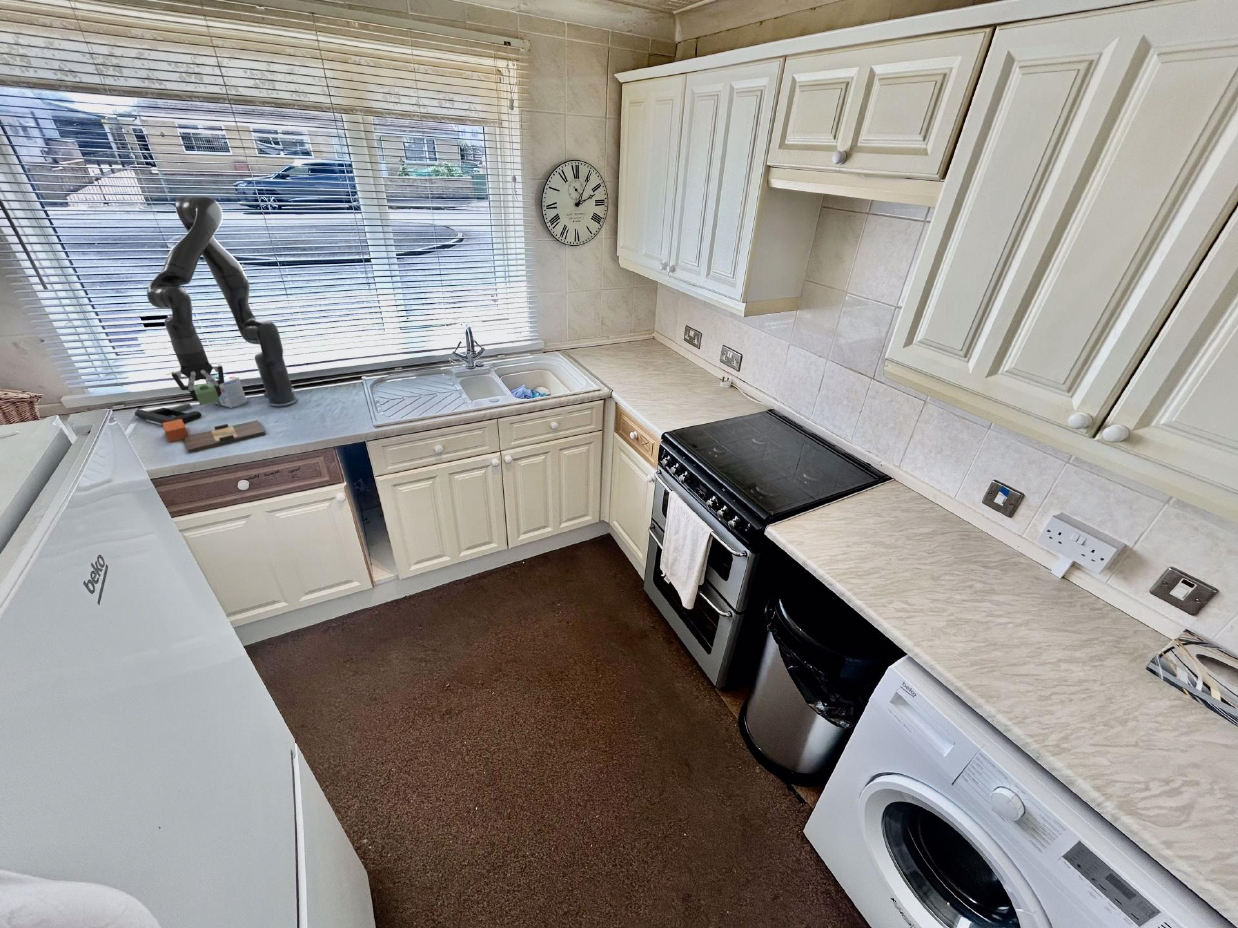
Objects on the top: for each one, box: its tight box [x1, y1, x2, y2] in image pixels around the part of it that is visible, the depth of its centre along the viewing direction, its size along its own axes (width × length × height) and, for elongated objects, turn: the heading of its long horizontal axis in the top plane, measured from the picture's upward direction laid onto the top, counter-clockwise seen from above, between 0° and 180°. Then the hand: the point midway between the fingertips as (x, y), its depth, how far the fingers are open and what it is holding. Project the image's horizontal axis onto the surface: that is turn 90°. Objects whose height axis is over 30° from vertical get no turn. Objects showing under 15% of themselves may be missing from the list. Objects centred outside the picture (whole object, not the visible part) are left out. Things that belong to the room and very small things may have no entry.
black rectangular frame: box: [134, 402, 202, 426], centre depth 195 cm, size 3×20×16 cm
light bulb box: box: [204, 373, 248, 409], centre depth 205 cm, size 11×7×11 cm, turn 68°
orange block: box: [162, 419, 189, 443], centre depth 182 cm, size 9×6×4 cm, turn 41°
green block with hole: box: [193, 383, 220, 406], centre depth 175 cm, size 9×6×5 cm, turn 40°
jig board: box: [183, 419, 266, 453], centre depth 182 cm, size 12×22×2 cm, turn 131°
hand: (208, 397), depth 176 cm, fingers closed on green block with hole, 5 cm apart
